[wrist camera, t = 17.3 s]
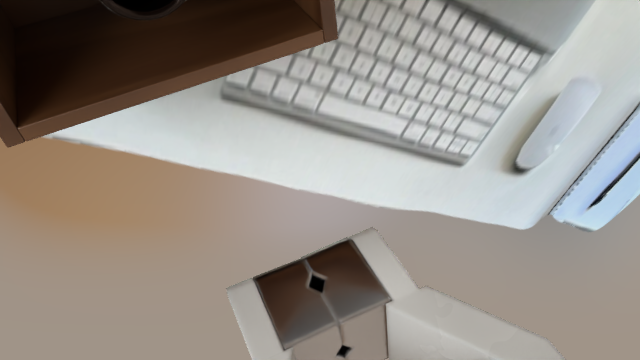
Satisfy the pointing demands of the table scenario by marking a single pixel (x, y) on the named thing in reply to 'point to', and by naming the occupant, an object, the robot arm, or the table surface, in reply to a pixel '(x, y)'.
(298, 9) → the storage box
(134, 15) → the gray cylinder
